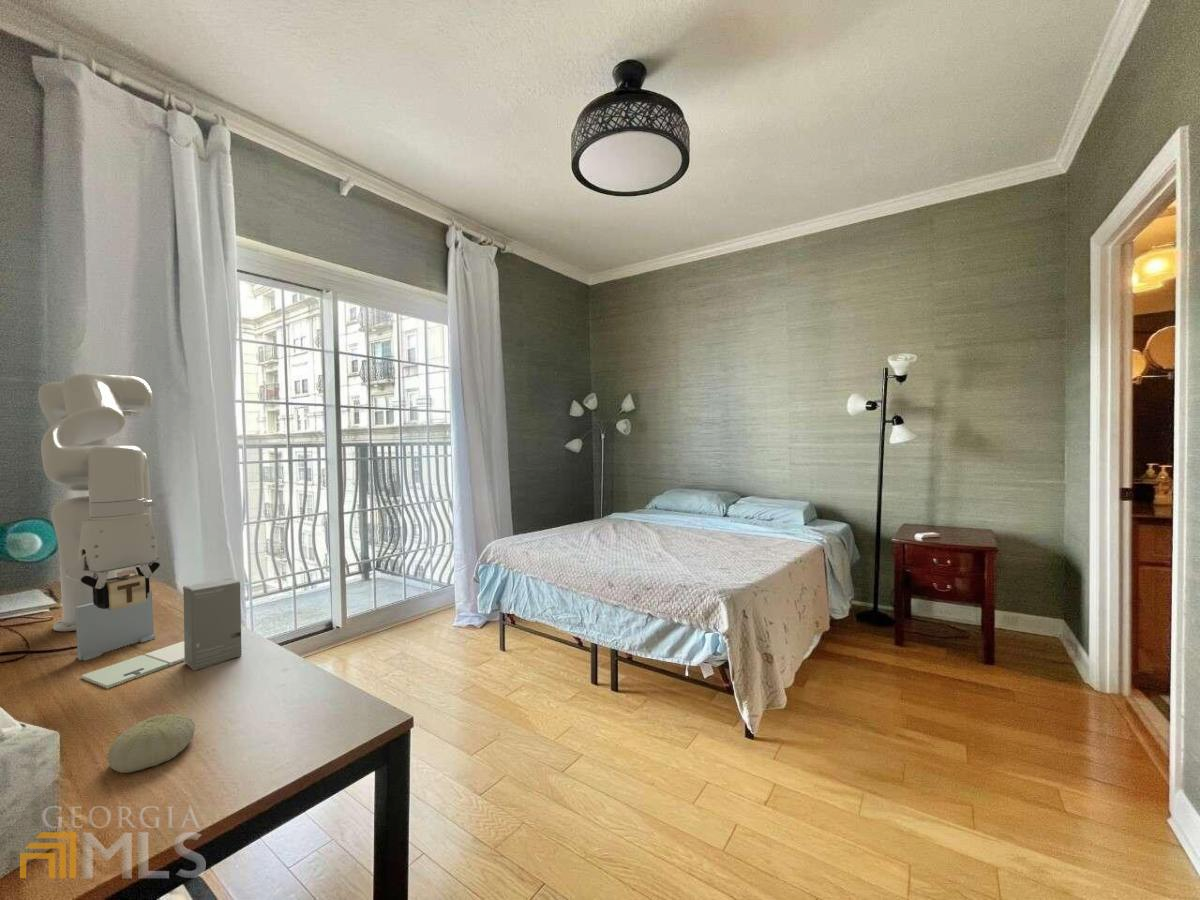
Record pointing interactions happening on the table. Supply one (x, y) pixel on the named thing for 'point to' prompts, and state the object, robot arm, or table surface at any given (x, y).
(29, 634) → the table surface
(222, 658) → the skincare box
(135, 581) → the letter cube
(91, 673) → the pad
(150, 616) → the screen
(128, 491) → the robot arm
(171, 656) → the pad
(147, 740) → the sea urchin shell
